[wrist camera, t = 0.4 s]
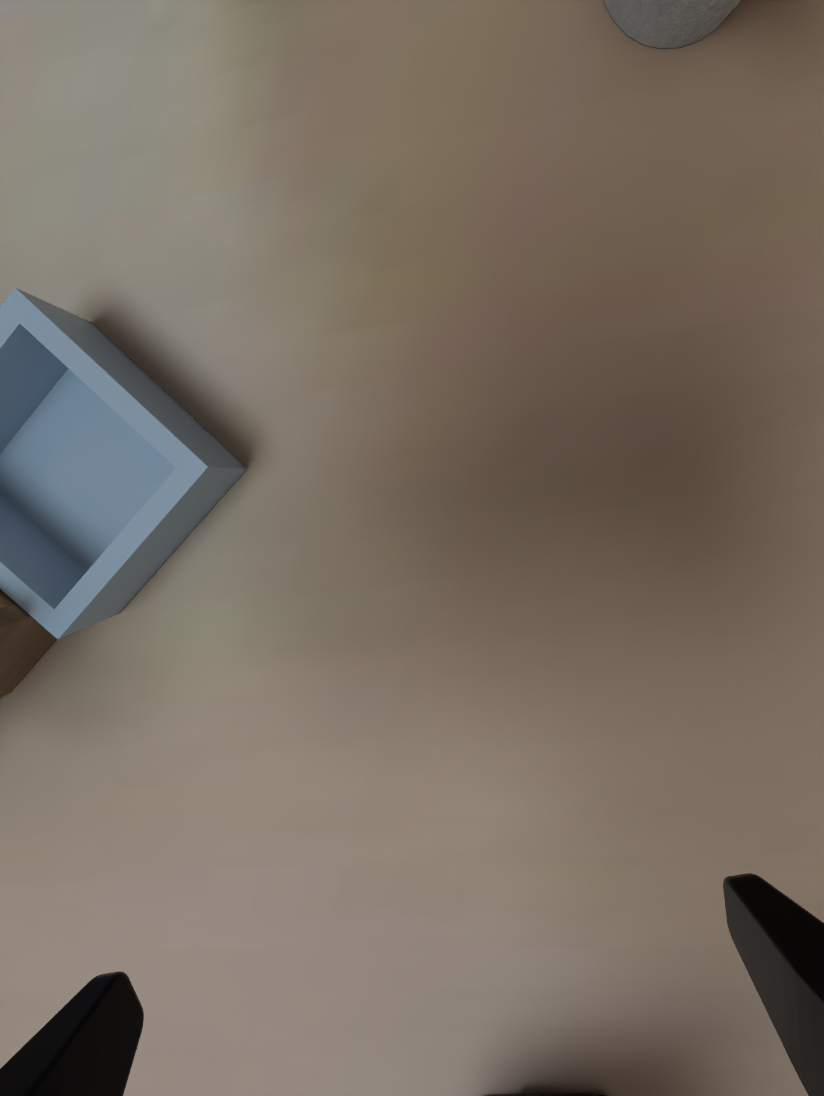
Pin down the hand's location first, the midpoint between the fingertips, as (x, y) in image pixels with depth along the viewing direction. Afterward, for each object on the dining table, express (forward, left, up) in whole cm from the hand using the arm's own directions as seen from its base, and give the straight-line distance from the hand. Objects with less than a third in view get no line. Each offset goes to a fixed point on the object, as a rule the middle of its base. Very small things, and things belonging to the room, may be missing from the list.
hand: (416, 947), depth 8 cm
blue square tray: (+9, +13, -15) cm, 21 cm away
